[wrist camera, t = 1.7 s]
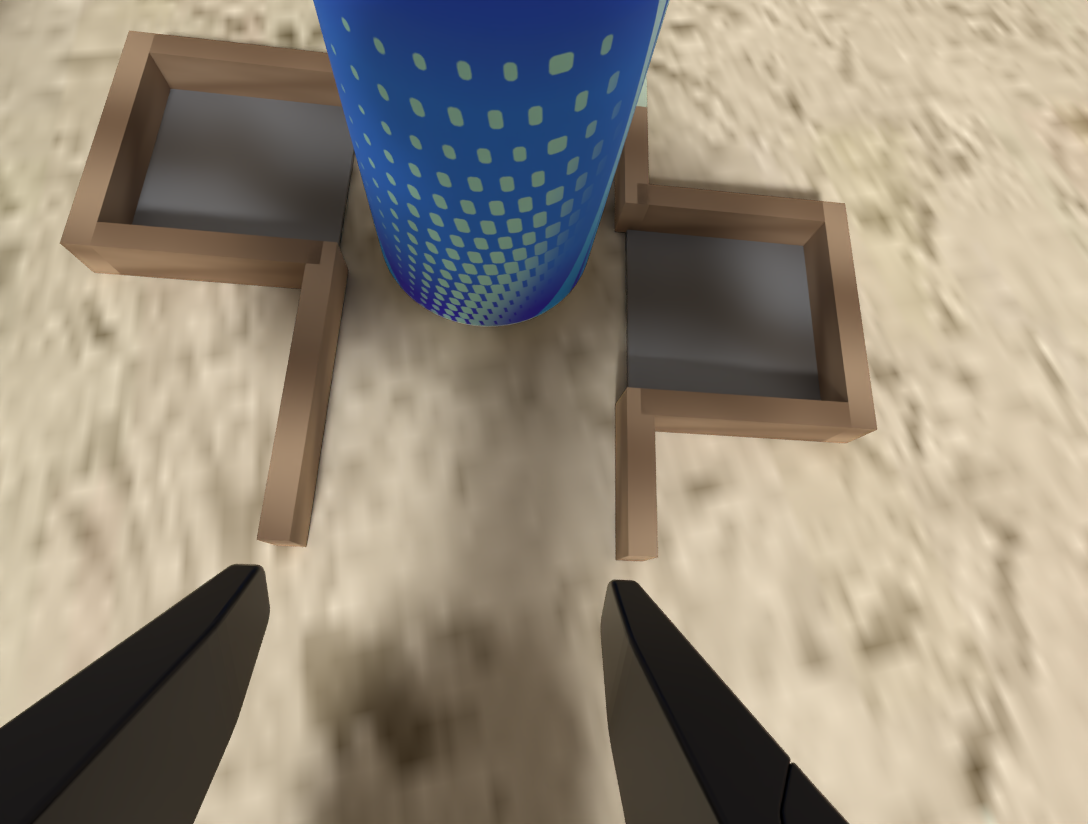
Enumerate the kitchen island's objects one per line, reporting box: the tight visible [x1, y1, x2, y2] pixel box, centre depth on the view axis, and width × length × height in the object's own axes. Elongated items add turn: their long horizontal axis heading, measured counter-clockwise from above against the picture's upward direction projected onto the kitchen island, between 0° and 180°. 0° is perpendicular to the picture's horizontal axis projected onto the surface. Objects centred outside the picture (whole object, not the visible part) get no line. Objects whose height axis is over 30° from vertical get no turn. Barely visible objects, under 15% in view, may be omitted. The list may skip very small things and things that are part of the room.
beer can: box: [313, 0, 670, 327], centre depth 18 cm, size 8×8×16 cm
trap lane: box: [60, 31, 877, 561], centre depth 24 cm, size 28×30×4 cm
